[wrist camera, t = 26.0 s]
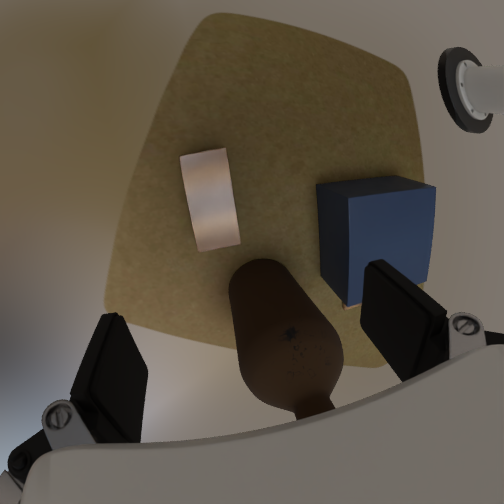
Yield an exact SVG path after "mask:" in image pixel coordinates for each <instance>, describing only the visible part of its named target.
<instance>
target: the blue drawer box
mask: <svg viewBox="0 0 504 504" xmlns="http://www.w3.org/2000/svg"><path fill="white" fill-rule="evenodd" d="M316 191H317V204H318V220H319V239H320V265H321V277H322V278H323V279H324V280H325V282H326V283H327V284H328V285H329V286H330V287H331V289H332V290H333V291H334V292H335V293H336V294H337V296H338V297H339V298H340V299H341V300H342V302H343V303H344V304H345V305H346V306H347V307H350V306H354V305H357V304H360V303H362V296H363V282H364V269H365V267H366V266H367V265H368V263H369V262H370V261H374V260H378V259H384V260H385V261H386V262H388V263H389V264H390V265H392V266H393V267H394V268H395V269H397V270H398V271H399V272H401V273H402V274H403V275H404V276H406V277H407V278H408V279H409V280H411V281H412V282H413V283H414V284H416V285H417V284H420V283H423V282H425V281H427V275H428V269H429V261H430V255H431V247H432V239H433V229H434V217H435V200H436V187H434V186H431V185H428V184H424V183H421V182H418V181H414V180H411V179H407V178H403V177H400V176H386V177H376V178H366V179H357V180H348V181H339V182H331V183H324V184H316Z"/></svg>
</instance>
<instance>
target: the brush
mask: <svg viewBox="0 0 504 504" xmlns="http://www.w3.org/2000/svg"><path fill="white" fill-rule="evenodd" d="M179 160H180V165H181V171H182V176H183V182H184V187H185V192H186V197H187V202H188V207H189V212H190V217H191V222H192V226H193V231H194V236H195V240H196V245H197V249H198V253H199V252H204V251H209V250H214V249H219V248H224V247H229V246H234V245H240V244H241V239H240V233H239V227H238V221H237V214H236V208H235V202H234V195H233V189H232V183H231V176H230V170H229V163H228V157H227V150H226V148H224V147H222V148H216V149H211V150H205V151H200V152H194V153H189V154H184V155H181V156H179Z"/></svg>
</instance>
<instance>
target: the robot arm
mask: <svg viewBox="0 0 504 504" xmlns="http://www.w3.org/2000/svg"><path fill="white" fill-rule="evenodd" d="M456 86H457V90H458V94H459V97H460V100H461V102H462V104H463V106H464V108H465V110H466V111H467V112H468V114H469V115H470V116H471V117H473V118H474V119H477V120H483V119H485V118H486V117H487V116H488V114H489V113H493V114H502V115H504V66H480V67H478V66H477V65H476V64H475V63H474V62H472V61H470V60H463V61H461V62H459V64H458V65H457V69H456ZM446 314H447V310H445V309H444V308H443V307H442V306H441V305H440V304H438V303H437V302H436V301H435V300H434V299H433V298H431V297H430V296H429V295H428V294H427V293H425V292H424V291H423V290H422V289H420V288H419V287H418V286H417V285H416V284H414V283H413V282H412V281H411V280H409V279H408V278H407V277H406V276H404V275H403V274H402V273H401V272H399V271H398V270H397V269H395V268H394V267H393V266H392V265H390V264H389V263H388V262H386V261H385V260H384V259H378V260H374V261H370V262H369V263H368V265H367V266H366V267H365V269H364V282H363V296H362V307H361V317H360V324H361V327H362V329H363V331H364V332H365V333H366V334H367V336H368V337H369V338H370V340H371V341H372V342H373V344H374V345H375V346H376V348H377V349H378V350H379V352H380V353H381V354H382V355H383V357H384V358H385V359H386V361H387V362H388V364H389V365H390V366H391V368H392V369H393V370H394V372H395V373H396V374H397V376H398V377H399V378H400V380H401V381H402V383H400V384H398V385H396V386H393V387H391V388H389V389H386V390H384V391H382V392H379V393H377V394H374V395H372V396H369V397H367V398H364V399H362V400H359V401H356V402H353V403H351V404H348V405H345V406H342V407H339V408H336V409H333V410H330V411H327V412H324V413H321V414H317V415H314V416H311V417H307V418H304V419H300V420H296V421H293V422H289V423H285V424H281V425H276V426H272V427H268V428H263V429H258V430H253V431H248V432H243V433H238V434H231V435H225V436H218V437H211V438H203V439H194V440H184V441H170V442H153V443H140V441H141V430H142V420H143V411H144V402H145V394H146V386H147V380H148V369H147V366H146V364H145V362H144V360H143V358H142V356H141V354H140V352H139V350H138V348H137V346H136V344H135V342H134V339H133V337H132V335H131V333H130V331H129V329H128V326H127V324H126V322H125V320H124V318H123V316H121V315H120V316H119V315H118V313H116V312H115V313H108V314H103V315H102V316H101V318H100V320H99V322H98V325H97V327H96V329H95V331H94V334H93V336H92V338H91V340H90V343H89V345H88V348H87V350H86V353H85V355H84V357H83V360H82V363H81V365H80V367H79V370H78V372H77V375H76V378H75V381H74V383H73V386H72V389H71V392H70V395H71V398H70V401H68V400H63V399H62V400H57V401H55V402H53V403H51V404H50V405H49V406H48V407H47V408H46V409H45V411H44V412H43V415H42V426H43V429H42V430H40V431H39V432H38V433H36V434H35V435H33V436H32V437H31V438H29V439H28V440H27V441H25V442H24V443H22V444H21V445H19V446H18V447H16V448H15V449H14V450H13V451H12V452H11V454H10V455H9V458H8V469H9V471H8V472H7V471H6V470H4V471H3V473H2V474H1V475H0V504H504V334H502V333H496V332H489V331H484V328H483V324H482V322H481V321H480V320H479V319H478V318H477V317H476V316H474V315H472V314H470V313H465V312H459V313H455V314H453V315H452V316H451V317H450V318H449V319H448V318H447V317H446Z"/></svg>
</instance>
